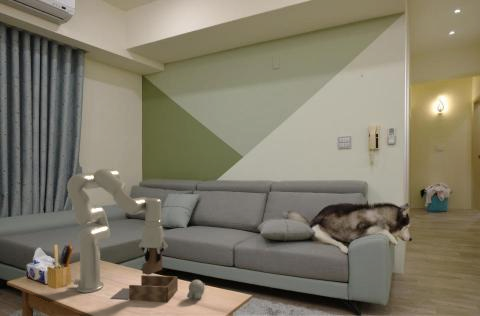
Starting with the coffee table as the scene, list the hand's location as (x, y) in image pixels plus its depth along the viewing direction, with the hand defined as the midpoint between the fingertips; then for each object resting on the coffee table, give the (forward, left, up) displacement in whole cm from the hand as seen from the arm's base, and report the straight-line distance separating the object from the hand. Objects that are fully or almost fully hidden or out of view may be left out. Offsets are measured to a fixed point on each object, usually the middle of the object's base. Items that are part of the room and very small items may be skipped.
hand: (153, 260), depth 158 cm
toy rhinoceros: (+23, 0, -17) cm, 28 cm away
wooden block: (0, 0, -6) cm, 6 cm away
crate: (+1, 0, -17) cm, 17 cm away
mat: (-14, 0, -17) cm, 22 cm away
